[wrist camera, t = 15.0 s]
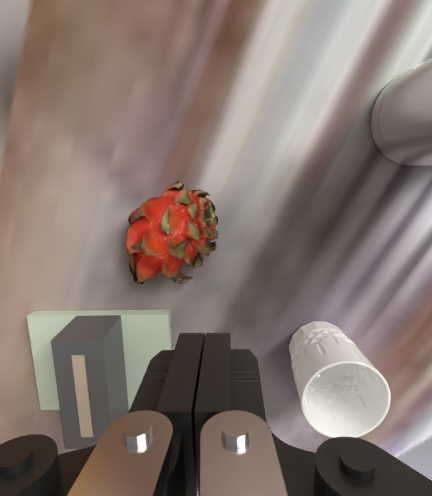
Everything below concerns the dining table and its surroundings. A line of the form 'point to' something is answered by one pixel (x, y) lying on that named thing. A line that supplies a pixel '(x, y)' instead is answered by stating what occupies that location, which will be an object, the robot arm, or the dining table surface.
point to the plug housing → (89, 377)
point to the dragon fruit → (171, 233)
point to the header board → (134, 343)
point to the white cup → (336, 382)
